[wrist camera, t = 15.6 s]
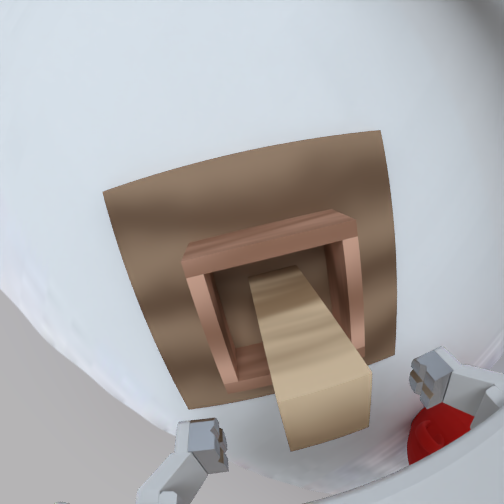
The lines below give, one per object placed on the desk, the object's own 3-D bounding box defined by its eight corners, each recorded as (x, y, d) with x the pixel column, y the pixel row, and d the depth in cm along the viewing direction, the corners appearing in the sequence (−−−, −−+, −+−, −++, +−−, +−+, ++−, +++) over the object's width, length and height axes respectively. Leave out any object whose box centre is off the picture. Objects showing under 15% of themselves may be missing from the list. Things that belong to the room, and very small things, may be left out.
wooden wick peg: (247, 276, 20) (277, 402, 9) (296, 264, 21) (372, 372, 9) (258, 318, 21) (290, 451, 10) (303, 307, 22) (368, 426, 10)
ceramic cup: (434, 358, 27) (483, 410, 17) (473, 391, 31) (507, 428, 21) (357, 432, 29) (386, 493, 19) (415, 447, 33) (440, 489, 24)
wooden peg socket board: (107, 190, 19) (76, 198, 14) (373, 131, 19) (411, 125, 14) (189, 402, 25) (185, 441, 20) (390, 349, 25) (414, 379, 20)
